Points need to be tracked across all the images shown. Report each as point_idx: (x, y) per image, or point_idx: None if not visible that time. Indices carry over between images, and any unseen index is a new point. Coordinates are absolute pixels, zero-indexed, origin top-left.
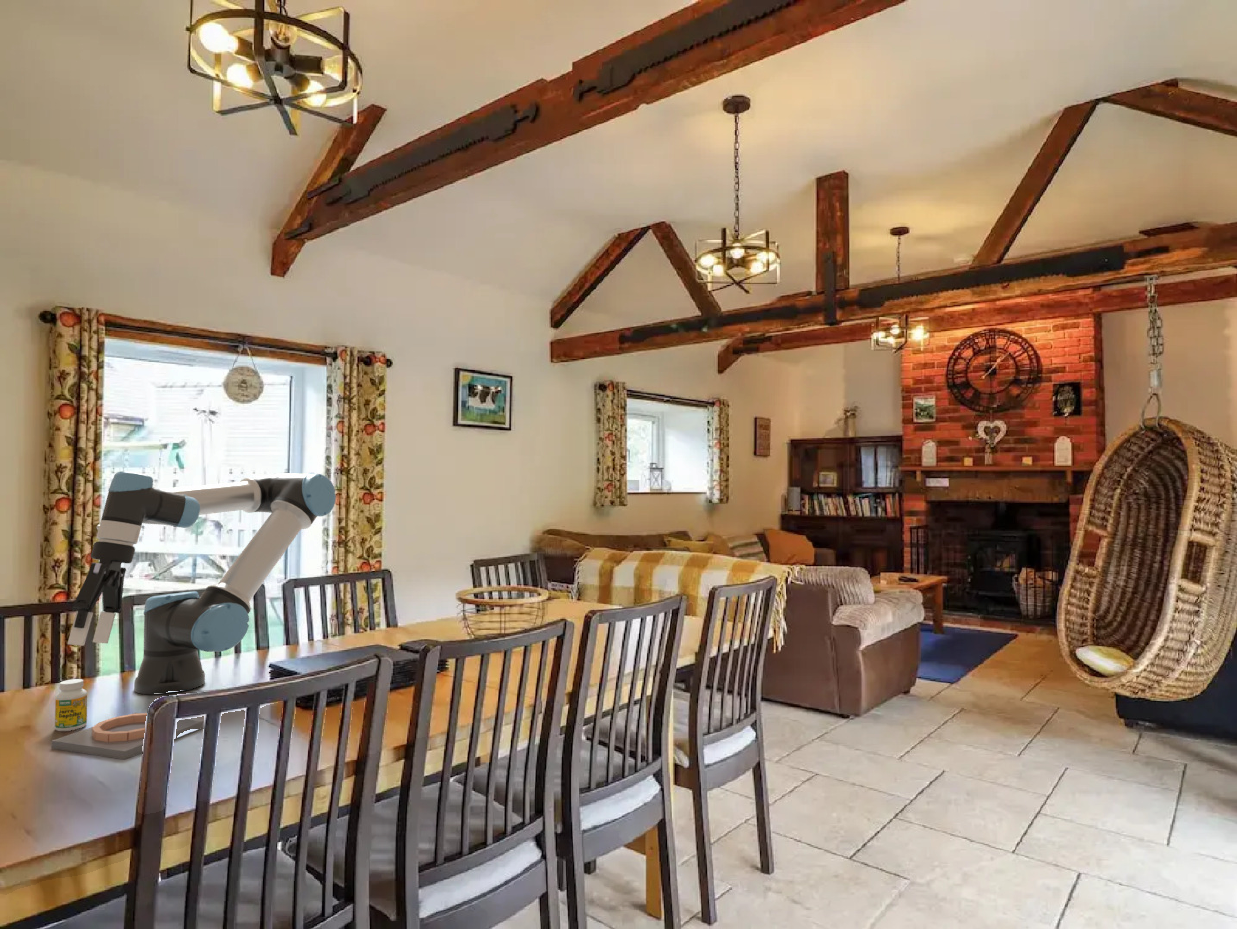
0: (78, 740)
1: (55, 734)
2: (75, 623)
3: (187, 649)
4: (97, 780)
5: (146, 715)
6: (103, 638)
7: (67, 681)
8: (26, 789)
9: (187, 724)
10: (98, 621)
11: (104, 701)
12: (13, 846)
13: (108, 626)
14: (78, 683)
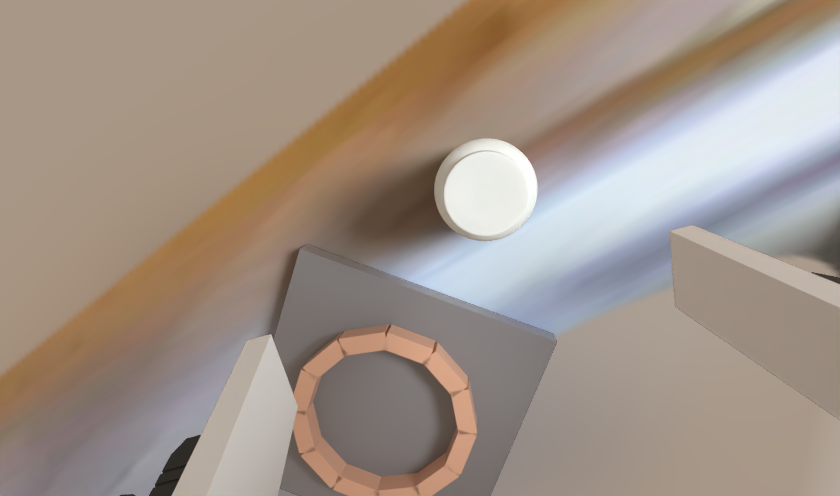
0: (303, 319)
1: (421, 178)
2: (166, 468)
3: None
4: (132, 461)
5: (458, 428)
6: (692, 295)
7: (486, 176)
8: (76, 350)
9: None
10: (779, 285)
11: (790, 113)
12: None
13: (755, 346)
14: (469, 233)
